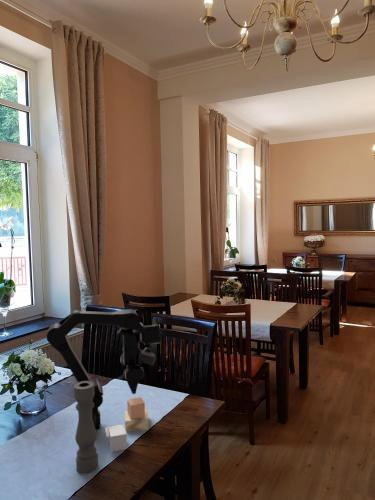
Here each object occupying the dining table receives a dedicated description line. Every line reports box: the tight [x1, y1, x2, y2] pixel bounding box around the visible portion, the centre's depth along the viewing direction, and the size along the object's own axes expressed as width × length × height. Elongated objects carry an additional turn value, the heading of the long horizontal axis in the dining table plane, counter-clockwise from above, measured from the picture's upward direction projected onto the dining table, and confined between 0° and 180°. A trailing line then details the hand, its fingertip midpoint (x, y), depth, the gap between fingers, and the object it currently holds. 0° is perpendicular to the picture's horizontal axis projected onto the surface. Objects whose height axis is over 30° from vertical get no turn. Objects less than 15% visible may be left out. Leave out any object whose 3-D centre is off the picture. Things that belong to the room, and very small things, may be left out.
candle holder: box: [73, 381, 99, 475], centre depth 115 cm, size 6×6×25 cm
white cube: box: [108, 425, 128, 453], centre depth 126 cm, size 5×5×5 cm
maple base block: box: [124, 407, 150, 432], centre depth 139 cm, size 8×8×4 cm
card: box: [104, 424, 123, 438], centre depth 135 cm, size 6×6×1 cm
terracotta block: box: [126, 396, 146, 420], centre depth 139 cm, size 5×5×5 cm
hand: (132, 388), depth 141 cm, fingers open, 9 cm apart
